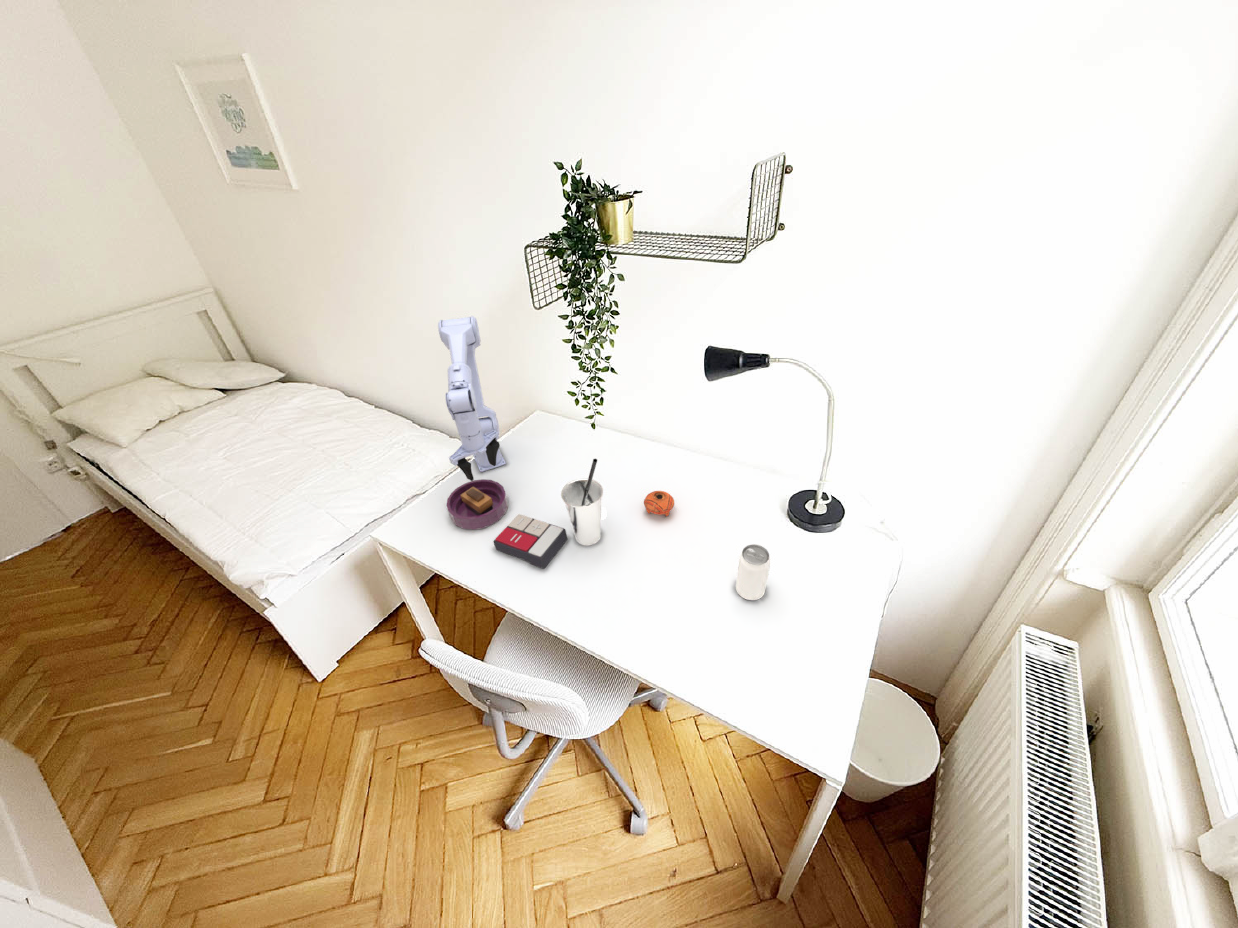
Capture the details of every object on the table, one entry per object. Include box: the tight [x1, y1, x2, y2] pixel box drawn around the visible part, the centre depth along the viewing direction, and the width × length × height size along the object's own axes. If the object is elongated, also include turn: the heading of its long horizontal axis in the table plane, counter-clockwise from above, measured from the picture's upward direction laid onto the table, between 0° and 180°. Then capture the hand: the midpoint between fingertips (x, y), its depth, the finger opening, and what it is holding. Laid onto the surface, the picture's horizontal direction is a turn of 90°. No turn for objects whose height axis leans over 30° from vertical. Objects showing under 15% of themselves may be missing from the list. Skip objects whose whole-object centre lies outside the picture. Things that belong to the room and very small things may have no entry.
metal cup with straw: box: [560, 458, 604, 547], centre depth 125 cm, size 11×11×30 cm
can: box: [735, 543, 771, 601], centre depth 115 cm, size 6×6×12 cm
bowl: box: [446, 478, 509, 530], centre depth 144 cm, size 16×16×4 cm
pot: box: [643, 490, 675, 517], centre depth 139 cm, size 8×8×7 cm
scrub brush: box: [460, 487, 493, 516], centre depth 143 cm, size 8×4×6 cm, turn 50°
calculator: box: [492, 513, 568, 569], centre depth 133 cm, size 11×4×15 cm
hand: (481, 471), depth 143 cm, fingers open, 7 cm apart
